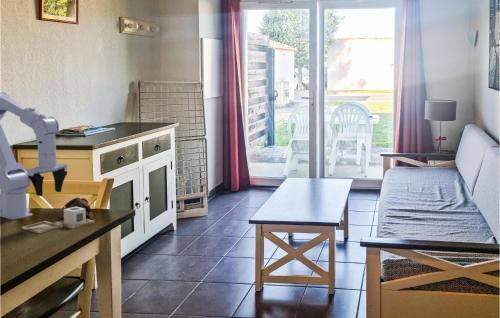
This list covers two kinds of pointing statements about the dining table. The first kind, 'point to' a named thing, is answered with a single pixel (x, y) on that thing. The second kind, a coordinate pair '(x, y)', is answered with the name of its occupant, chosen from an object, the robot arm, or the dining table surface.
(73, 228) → the tray far
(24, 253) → the dining table surface
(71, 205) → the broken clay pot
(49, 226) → the tray near
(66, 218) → the white marked cube
